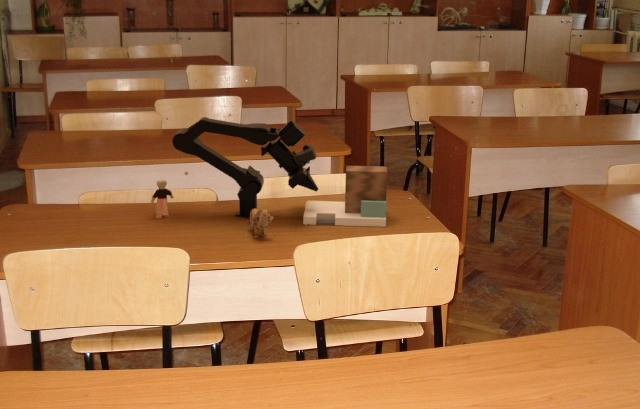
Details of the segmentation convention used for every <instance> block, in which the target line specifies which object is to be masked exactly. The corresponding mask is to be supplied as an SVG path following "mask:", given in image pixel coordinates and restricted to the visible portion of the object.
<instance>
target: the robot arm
mask: <svg viewBox="0 0 640 409" xmlns="http://www.w3.org/2000/svg"><path fill="white" fill-rule="evenodd" d="M204 133H211V134H217V135H222V136H230V137H235V138H239V139H240V138H241V139H243V140H245V141H247V142H249V143H252V144H255V145H257V146H261V147H260V151H261V154H260V156H261V157H264V156H265V155H267V154H269V156H270V157H271V158H272V159H273V160H274V161H275V162H276V163H278V167H279V168H280V169H283V170H284V171H285V172H286V173H287V176H288V182H287V183H288V184H287V185H288V186H289V187H290V188H291V189H292V190H293V189H294V188H295V187H296V186H300V187H304V188H306V189H309V190H311V191H314V192H318V190H319V187H318V185H317V184H316V182H315V181H314V180H315V179H313V177H312V175H311V166H308V167H305V166H306V165H307V164H310V162H311V161H314V160H316V158H317V154H316V151H315V148H314V147H313V146H311V145H309V144H307V143H306V144H304V145H303V146H302V150H300V151H299V152H296V151H295V150H291V149H290V148H289V147H293V148H294V147H295V146H296V145H297V144H298V143H299V142H300V141H301V140H302V139H303V138H304V137H306V136H307V133H306V131H305V130H304V128H303V127H302V126H301V125H300V124H298V123H297V122H295V121H294V120H293V119H290V120H289V121H288V122H286V124H285V125H284V126H283V127H282V128H276V127H270V126H269V124H267V123H255V122H254V123H247V124H244V123H238V122H232V121H227V120H226V121H225V120H221V119H220V120H219V119H214V118H209V117H206V116H203V117H201V118H200V119H199V120H198V121H196V122H195V123H193V124H192V125H191V126H188V127H187V128H181V129H179V130H178V132H176V133H175V135H173V137H172V145H173V148H174V149H175V150H177V151H179V152H182V153H183V154H187V155H191V156H195V157H197V158H199V159H200V160H202V161H203V162H206V164H209V165H210V166H212V167H213V168H215V169H217V170H219V171H220V172H221V173H223V174H224V175H227V176H228V177H230V178H231V179H233V180H234V181H235V183H236V184H238V186H239V190H238V191H237V195H236V196H237V197H238V200H239V201H238V202H239V204H238V206H239V211H238V212H235V216H239V217H244V218H249V219H250V212H251V210H252V209H254V208H255V209H258V194H260V192H261V191H262V189H263V186H264V183H265V179H264V176H263V175H262V174H261V171H260V170H256V169H255V168H254V167H252V166H251V165H248V167H247V168H246V167H242V166H239V165H238V164H236V163H235V162H233V161H231V160H230V159H228V158H226V156H224V155H222V154H220V153H219V152H217V151H216V150H214V149H212V148H211V147H209V146H207V145H206V144H205V143H203V141H202V140H201V139H200V138H199V137H200V136H201V135H202V134H204Z"/></svg>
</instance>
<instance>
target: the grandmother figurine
mask: <svg viewBox="0 0 640 409" xmlns="http://www.w3.org/2000/svg"><path fill="white" fill-rule="evenodd" d="M155 183H156V186H157V187H158V189H156V190H155V192H154V193H153V195H152V196H151V200H150V203H151V204H154V203H155V200H156V208H155V209H156V211H155V214H156V215H155V218H156V219H162V218H163V217H164V218H167V217H170V214H169V211H168V210H169V209H168V196H169V198H170V199H174V195H173V193H172V191H171V190H170V189H168V188H166V187H167V184H168V182H167V180H166V179H164V178H159V179H157V180H156V182H155Z"/></svg>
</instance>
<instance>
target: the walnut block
mask: <svg viewBox="0 0 640 409" xmlns="http://www.w3.org/2000/svg"><path fill="white" fill-rule="evenodd" d="M387 184H388V167H387V166H375V165H374V166H373V165H372V166H371V165H369V166H368V165H345V185H344V186H345V187H344V188H345V192H344V194H345V195H344V202H345V213H361V200H363V201H387V190H388V189H387V188H388V185H387Z"/></svg>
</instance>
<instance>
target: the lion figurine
mask: <svg viewBox="0 0 640 409" xmlns="http://www.w3.org/2000/svg"><path fill="white" fill-rule="evenodd" d="M273 219H274V216H272V215H271V214H270V213H269V210H267V209H262V210H260V209H258V208H257V209H255V208H254V209H252V210H251V212H250V218H249V222H248V224H249V227H248V231H250V232H251V231H254V236H253V237H254V238H255V239H256V238H259V233H258V230H261V232H260V234H261V236H263V237H265V236H267V233H265V229H266V227H267V226H268V225H269V223H270V224H272V221H273Z"/></svg>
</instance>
